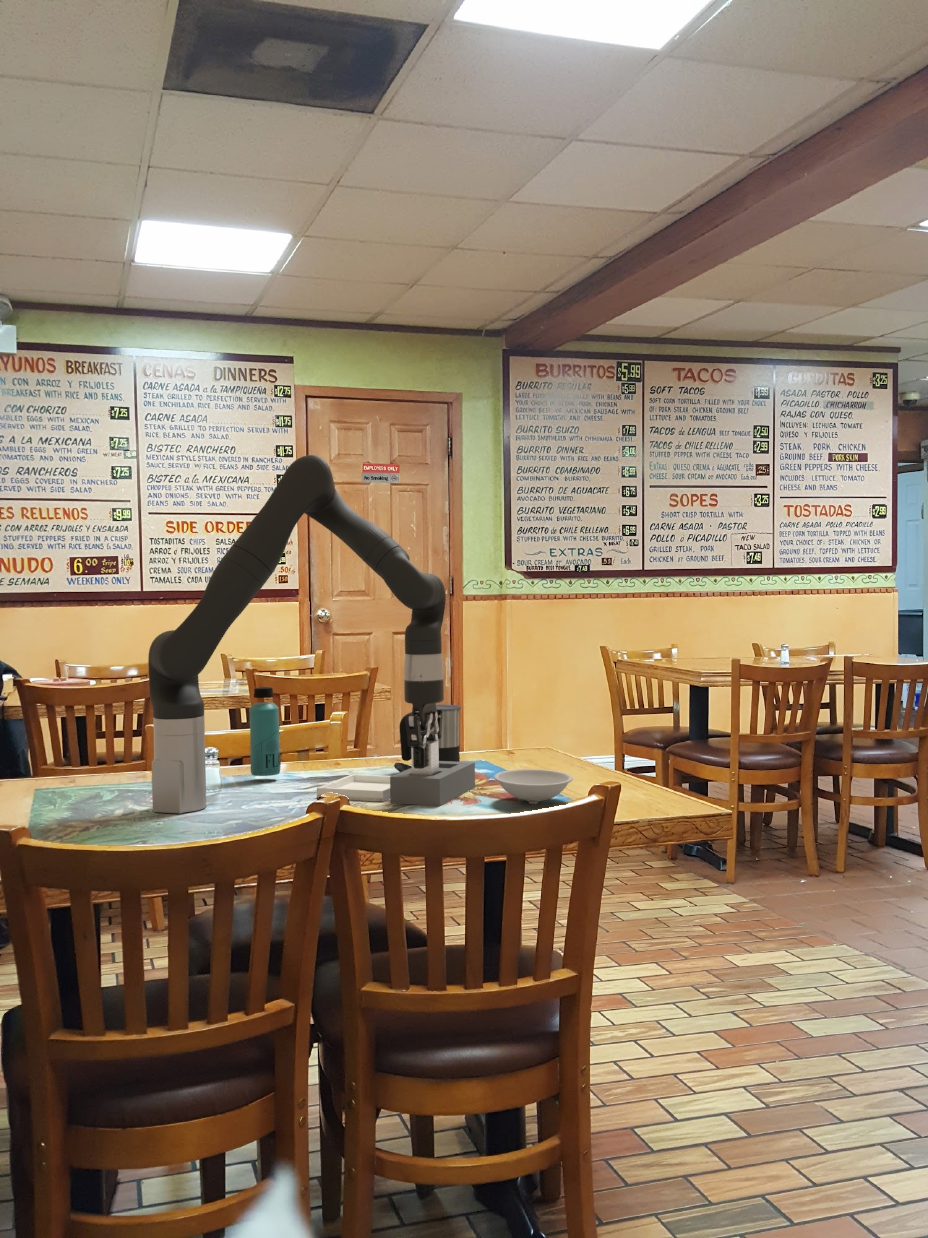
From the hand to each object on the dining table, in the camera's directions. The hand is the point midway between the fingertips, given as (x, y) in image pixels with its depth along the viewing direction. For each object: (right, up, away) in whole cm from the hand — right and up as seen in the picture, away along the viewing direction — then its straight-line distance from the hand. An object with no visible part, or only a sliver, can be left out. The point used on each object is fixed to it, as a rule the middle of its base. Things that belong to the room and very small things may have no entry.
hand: (425, 765), depth 205 cm
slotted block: (+2, -6, +4) cm, 8 cm away
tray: (-12, -6, +8) cm, 16 cm away
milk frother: (0, -6, +26) cm, 27 cm away
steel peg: (0, -6, 0) cm, 6 cm away
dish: (+20, -7, -5) cm, 22 cm away
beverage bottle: (-35, -7, +24) cm, 43 cm away
